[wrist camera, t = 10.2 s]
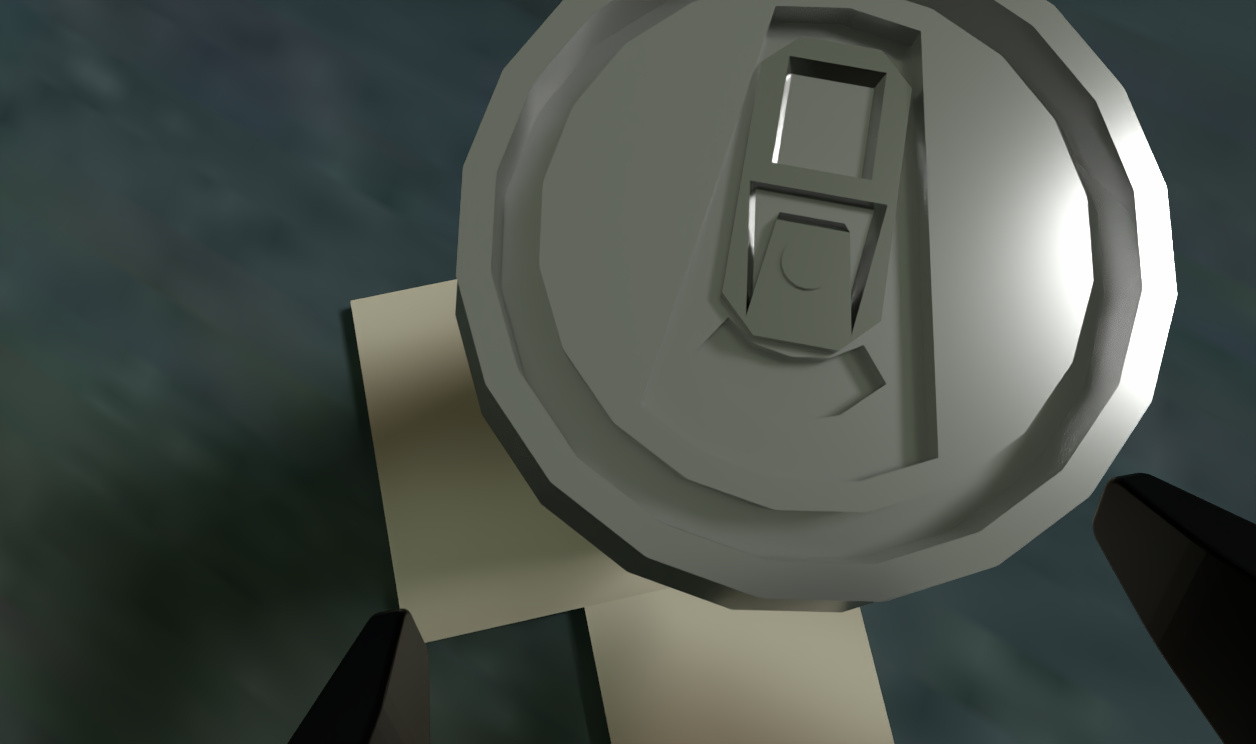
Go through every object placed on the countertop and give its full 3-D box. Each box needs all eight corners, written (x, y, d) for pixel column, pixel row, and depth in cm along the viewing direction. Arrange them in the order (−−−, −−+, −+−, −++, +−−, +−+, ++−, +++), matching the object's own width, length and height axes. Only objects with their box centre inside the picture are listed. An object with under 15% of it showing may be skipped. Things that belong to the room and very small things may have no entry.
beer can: (585, 279, 17) (509, -174, 5) (809, 320, 17) (1233, -50, 5) (540, 506, 16) (334, 556, 5) (775, 550, 16) (1185, 719, 4)
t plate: (1139, 977, 16) (1156, 993, 15) (491, 1142, 15) (487, 1164, 14) (912, 192, 18) (920, 183, 18) (356, 305, 18) (348, 300, 17)
